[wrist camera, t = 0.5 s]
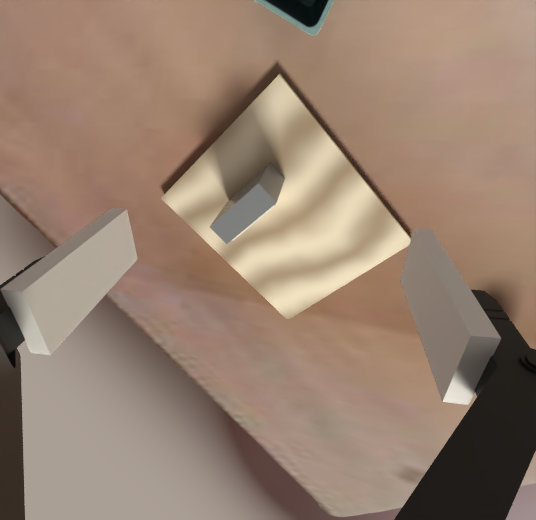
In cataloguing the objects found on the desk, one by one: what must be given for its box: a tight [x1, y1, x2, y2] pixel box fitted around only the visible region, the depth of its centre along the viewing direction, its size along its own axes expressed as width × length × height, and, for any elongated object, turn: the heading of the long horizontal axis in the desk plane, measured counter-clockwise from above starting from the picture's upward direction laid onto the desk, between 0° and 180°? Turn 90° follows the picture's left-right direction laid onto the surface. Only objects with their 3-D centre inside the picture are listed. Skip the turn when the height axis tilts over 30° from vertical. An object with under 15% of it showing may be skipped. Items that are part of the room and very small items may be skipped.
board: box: [161, 74, 411, 320], centre depth 42 cm, size 24×20×1 cm
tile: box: [210, 162, 285, 244], centre depth 37 cm, size 3×7×8 cm, turn 133°
